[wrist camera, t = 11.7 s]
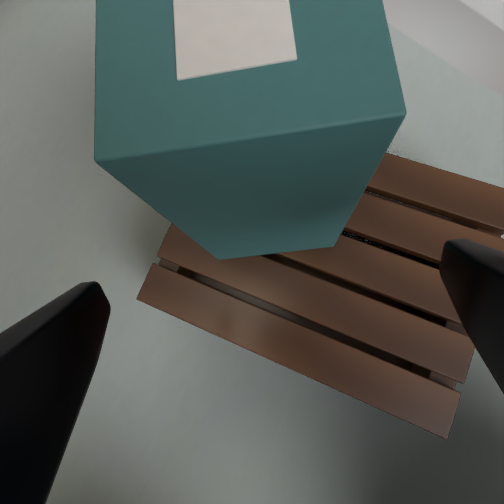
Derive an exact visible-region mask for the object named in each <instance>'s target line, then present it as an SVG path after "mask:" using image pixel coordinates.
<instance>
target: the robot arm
mask: <svg viewBox="0 0 504 504" xmlns="http://www.w3.org/2000/svg"><path fill="white" fill-rule="evenodd" d="M439 273H440V277H441V279H442V281H443V284H444V286H445V288H446V290H447V292H448V295H449V297H450V299H451V301H452V303H453V306H454V308H455V310H456V312H457V314H458V317H459V319H460V321H461V323H462V325H463V327H464V329H465V331H466V332H467V334H468V336H469V338H470V339H471V341H472V343H473V344H474V346H475V348H476V349H477V351H478V352H479V354H480V356H481V357H482V359H483V361H484V362H485V364H486V366H487V367H488V369H489V371H490V372H491V374H492V376H493V377H494V379H495V380H496V382H497V384H498V385H499V387H500V389H501V390H502V392H503V394H504V252H501V251H499V250H496V249H493V248H490V247H488V246H485V245H482V244H479V243H477V242H474V241H471V240H468V239H465V238H461V239H453V240H448V241H446V242H445V243H444V246H443V251H442V256H441V261H440V266H439ZM110 310H111V308H110V304H109V301H108V299H107V297H106V296H105V294H104V292H103V290H102V288H101V286H100V284H99V283H98V282H95V281H92V282H83V283H80V284H78V285H77V286H75V287H73V288H72V289H70V290H69V291H67V292H65V293H64V294H62V295H61V296H59V297H57V298H56V299H54V300H53V301H51V302H49V303H48V304H46V305H45V306H43V307H41V308H40V309H38V310H37V311H35V312H33V313H32V314H30V315H29V316H27V317H26V318H24V319H22V320H21V321H19V322H18V323H16V324H14V325H13V326H11V327H10V328H8V329H6V330H5V331H3V332H2V333H0V504H46V501H47V498H48V496H49V493H50V490H51V487H52V485H53V482H54V479H55V477H56V474H57V471H58V469H59V466H60V463H61V460H62V458H63V455H64V452H65V450H66V447H67V444H68V441H69V439H70V436H71V433H72V431H73V428H74V425H75V422H76V420H77V417H78V414H79V412H80V409H81V406H82V403H83V401H84V398H85V395H86V393H87V390H88V387H89V385H90V382H91V379H92V376H93V374H94V371H95V368H96V365H97V362H98V359H99V355H100V351H101V348H102V344H103V340H104V336H105V332H106V328H107V324H108V320H109V316H110Z"/></svg>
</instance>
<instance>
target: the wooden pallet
mask: <svg viewBox="0 0 504 504" xmlns="http://www.w3.org/2000/svg"><path fill="white" fill-rule="evenodd" d="M366 191H368V192H366ZM369 192H371V193H369ZM372 193H375V194H378V195H381V196H384V197H387V198H390V199H393V200H396V201H399V202H402V203H405V204H408V205H411V206H414V207H417V208H414V207H411V206H408V205H405V204H402V203H399V202H396V201H393V200H390V199H387V198H384V197H381V196H378V195H375V194H372ZM418 208H420V209H418ZM421 209H423V210H421ZM424 210H426V211H424ZM427 211H430V212H433V213H436V214H439V215H442V216H445V217H448V218H451V219H452V220H451V219H448V218H445V217H442V216H439V215H436V214H433V213H430V212H427ZM343 231H346V232H349V233H351V234H354V235H357V236H360V237H363V238H366V239H368V240H371V241H374V242H377V243H380V244H382V245H385V246H388V247H391V248H394V249H396V250H399V251H402V252H405V253H408V254H411V255H413V256H416V257H419V258H422V259H425V260H427V261H430V262H433V263H436V264H437V265H436V268H433V267H430V266H428V265H425V264H422V263H419V262H416V261H414V260H411V259H408V258H405V257H402V256H400V255H397V254H394V253H391V252H388V251H386V250H383V249H380V248H377V247H375V246H372V245H369V244H366V243H363V242H361V241H358V240H355V239H352V238H349V237H347V236H344V235H341V234H340V236H339V238H338V240H337V241H336V243H335V245H334V246H333V247H326V248H317V249H308V250H300V251H291V252H282V253H274V254H265V255H256V256H248V257H239V258H230V259H222V260H218V259H217V258H216V257H214V256H213V255H212V254H211V253H209V252H208V251H207V250H205V249H204V248H203V247H202V246H200V245H199V244H198V243H197V242H195V241H194V240H193V239H192V238H190V237H189V236H188V235H186V234H185V233H184V232H183V231H181V230H180V229H179V228H178V227H176V226H175V225H174V224H173V223H171V225H170V228H169V230H168V232H167V234H166V236H165V238H164V241H163V243H162V245H161V247H160V249H159V251H158V253H157V256H158V257H160V258H161V260H160V262H159V265H158V264H155V263H153V264H152V266H151V268H150V270H149V272H148V275H147V277H146V279H145V281H144V283H143V285H142V288H141V290H140V292H139V294H138V296H137V300H139V301H141V302H144V303H146V304H148V305H150V306H153V307H155V308H157V309H159V310H161V311H164V312H166V313H168V314H170V315H172V316H175V317H177V318H179V319H181V320H183V321H186V322H188V323H190V324H192V325H195V326H197V327H199V328H201V329H203V330H206V331H208V332H210V333H212V334H214V335H217V336H219V337H221V338H223V339H225V340H228V341H230V342H232V343H234V344H236V345H239V346H241V347H243V348H245V349H248V350H250V351H252V352H254V353H256V354H259V355H261V356H263V357H265V358H267V359H270V360H272V361H274V362H276V363H278V364H281V365H283V366H285V367H287V368H290V369H292V370H294V371H296V372H298V373H301V374H303V375H305V376H307V377H309V378H312V379H314V380H316V381H318V382H320V383H323V384H325V385H327V386H329V387H332V388H334V389H336V390H338V391H340V392H343V393H345V394H347V395H349V396H351V397H354V398H356V399H358V400H360V401H362V402H365V403H367V404H369V405H371V406H373V407H376V408H378V409H380V410H382V411H385V412H387V413H389V414H391V415H393V416H396V417H398V418H400V419H402V420H404V421H407V422H409V423H411V424H413V425H415V426H418V427H420V428H422V429H424V430H427V431H429V432H431V433H433V434H435V435H438V436H440V437H442V438H444V439H448V435H449V432H450V429H451V425H452V422H453V419H454V416H455V412H456V409H457V406H458V402H459V399H460V396H461V393H460V392H458V391H456V390H454V387H455V384H456V381H457V382H459V383H464V382H465V379H466V375H467V372H468V369H469V365H470V362H471V359H472V356H473V352H474V349H475V346H474V344H473V343H472V341H471V339H470V338H469V336H468V334H467V332H466V331H465V329H464V327H463V325H462V323H461V321H460V319H459V317H458V314H457V312H456V310H455V308H454V306H453V303H452V301H451V299H450V297H449V295H448V292H447V290H446V288H445V286H444V284H443V281H442V279H441V277H440V273H439V266H440V261H441V256H442V251H443V246H444V243H445V242H446V241H448V240H453V239H461V238H465V239H468V240H471V241H474V242H477V243H479V244H482V245H485V246H488V247H490V248H493V249H496V250H499V251H501V252H504V239H503V238H501V235H503V234H504V188H501V187H498V186H495V185H491V184H488V183H485V182H482V181H478V180H475V179H472V178H468V177H465V176H462V175H458V174H455V173H452V172H448V171H445V170H442V169H438V168H435V167H432V166H428V165H425V164H422V163H418V162H415V161H412V160H409V159H405V158H402V157H399V156H395V155H392V154H389V153H385V154H384V156H383V158H382V160H381V161H380V163H379V165H378V167H377V169H376V171H375V172H374V174H373V176H372V178H371V180H370V181H369V183H368V185H367V187H366V189H365V191H364V192H363V194H362V196H361V198H360V200H359V201H358V203H357V205H356V207H355V209H354V210H353V212H352V214H351V216H350V218H349V220H348V221H347V223H346V225H345V227H344V229H343Z"/></svg>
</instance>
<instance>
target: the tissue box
mask: <svg viewBox="0 0 504 504" xmlns="http://www.w3.org/2000/svg"><path fill="white" fill-rule="evenodd" d="M406 113H407V112H406V108H405V103H404V98H403V94H402V89H401V85H400V80H399V75H398V71H397V66H396V61H395V57H394V52H393V48H392V43H391V38H390V34H389V29H388V25H387V20H386V16H385V11H384V6H383V2H382V0H96V44H95V132H94V160H95V162H96V163H97V164H98V165H99V166H101V167H102V168H103V169H104V170H106V171H107V172H108V173H109V174H111V175H112V176H113V177H114V178H116V179H117V180H118V181H120V182H121V183H122V184H123V185H125V186H126V187H127V188H128V189H130V190H131V191H132V192H133V193H135V194H136V195H137V196H138V197H140V198H141V199H142V200H144V201H145V202H146V203H147V204H149V205H150V206H151V207H152V208H154V209H155V210H156V211H157V212H159V213H160V214H161V215H162V216H164V217H165V218H166V219H168V220H169V221H170V222H171V223H173V224H174V225H175V226H176V227H178V228H179V229H180V230H181V231H183V232H184V233H185V234H186V235H188V236H189V237H190V238H192V239H193V240H194V241H195V242H197V243H198V244H199V245H200V246H202V247H203V248H204V249H205V250H207V251H208V252H209V253H211V254H212V255H213V256H214V257H216V258H217V259H218V260H222V259H230V258H239V257H248V256H256V255H265V254H274V253H282V252H291V251H300V250H308V249H317V248H326V247H333V246H334V245H335V243H336V241H337V240H338V238H339V236H340V234H341V232H342V230H343V229H344V227H345V225H346V223H347V221H348V220H349V218H350V216H351V214H352V212H353V210H354V209H355V207H356V205H357V203H358V201H359V200H360V198H361V196H362V194H363V192H364V191H365V189H366V187H367V185H368V183H369V181H370V180H371V178H372V176H373V174H374V172H375V171H376V169H377V167H378V165H379V163H380V161H381V160H382V158H383V156H384V154H385V152H386V151H387V149H388V147H389V145H390V143H391V142H392V140H393V138H394V136H395V134H396V132H397V131H398V129H399V127H400V125H401V123H402V122H403V120H404V118H405V116H406Z"/></svg>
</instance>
